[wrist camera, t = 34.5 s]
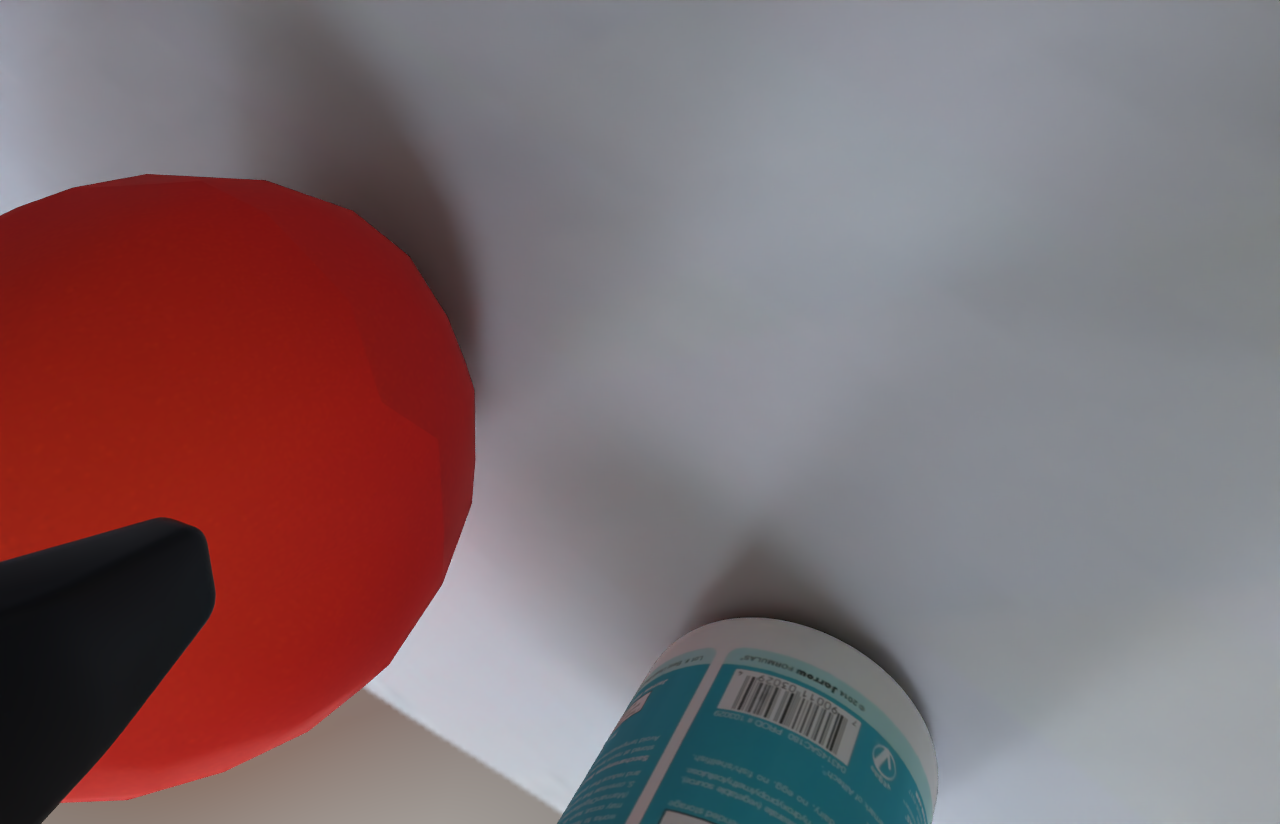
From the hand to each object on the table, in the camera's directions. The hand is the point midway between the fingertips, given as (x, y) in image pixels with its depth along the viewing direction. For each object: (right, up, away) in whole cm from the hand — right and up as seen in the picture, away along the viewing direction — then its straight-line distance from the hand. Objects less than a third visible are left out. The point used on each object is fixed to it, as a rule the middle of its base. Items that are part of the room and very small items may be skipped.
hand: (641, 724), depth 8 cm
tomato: (-6, +4, +17) cm, 19 cm away
